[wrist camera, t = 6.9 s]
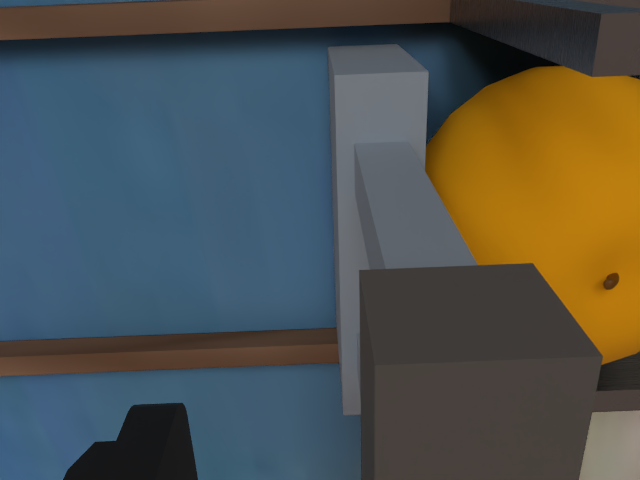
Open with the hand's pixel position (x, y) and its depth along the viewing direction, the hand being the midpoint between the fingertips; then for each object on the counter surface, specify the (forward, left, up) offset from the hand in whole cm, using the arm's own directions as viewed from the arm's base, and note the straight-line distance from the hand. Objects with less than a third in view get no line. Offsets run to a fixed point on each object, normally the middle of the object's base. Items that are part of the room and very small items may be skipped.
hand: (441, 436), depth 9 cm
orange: (0, +5, -11) cm, 12 cm away
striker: (0, 0, -11) cm, 11 cm away
